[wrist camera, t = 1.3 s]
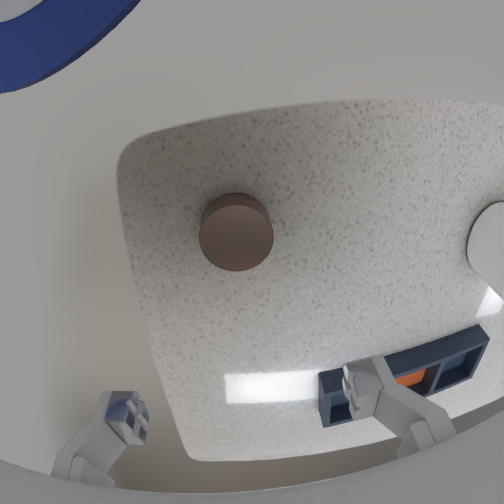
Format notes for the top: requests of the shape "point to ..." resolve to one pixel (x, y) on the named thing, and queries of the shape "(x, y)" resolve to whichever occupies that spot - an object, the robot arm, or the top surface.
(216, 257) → the cylinder
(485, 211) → the mug
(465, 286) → the top surface
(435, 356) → the grid
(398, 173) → the top surface
